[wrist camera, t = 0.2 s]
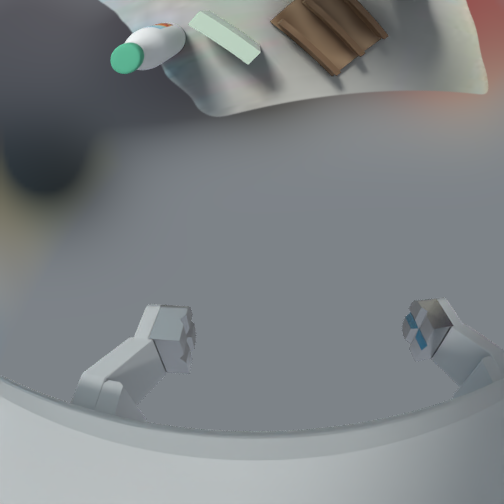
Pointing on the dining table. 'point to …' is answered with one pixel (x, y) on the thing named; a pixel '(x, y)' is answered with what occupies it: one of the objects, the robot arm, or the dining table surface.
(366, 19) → the rack
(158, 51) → the milk bottle
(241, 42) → the tall mint green block
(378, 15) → the dining table surface
